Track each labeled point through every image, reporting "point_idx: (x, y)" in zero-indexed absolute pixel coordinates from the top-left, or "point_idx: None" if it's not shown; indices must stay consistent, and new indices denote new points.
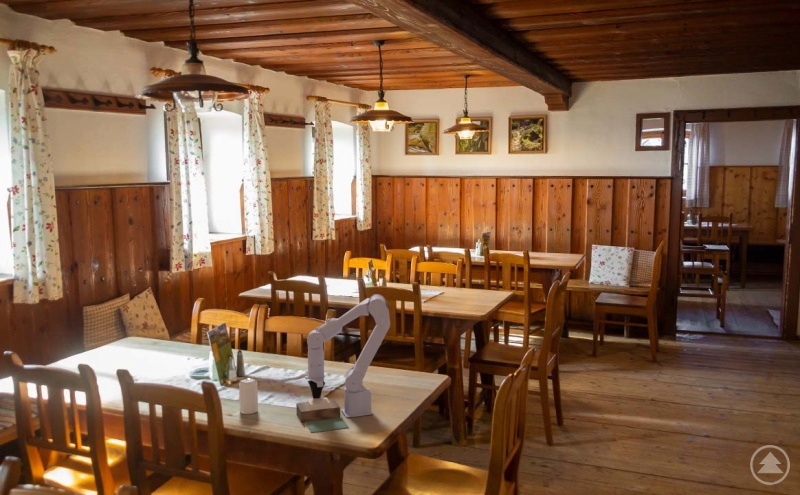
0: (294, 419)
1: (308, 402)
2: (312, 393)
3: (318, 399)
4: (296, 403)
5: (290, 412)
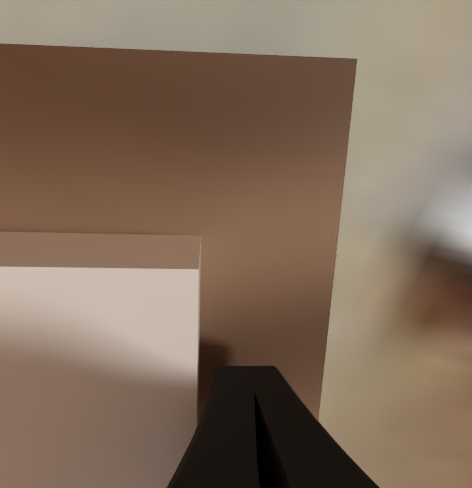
0: (126, 5)
1: (79, 257)
2: (229, 455)
3: (120, 457)
4: (346, 59)
5: (395, 11)
